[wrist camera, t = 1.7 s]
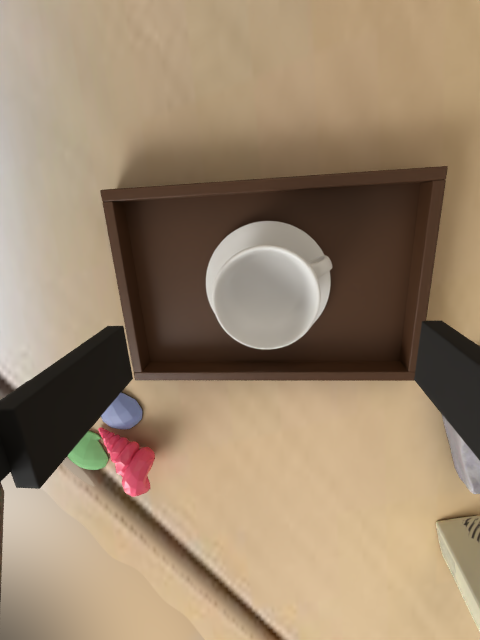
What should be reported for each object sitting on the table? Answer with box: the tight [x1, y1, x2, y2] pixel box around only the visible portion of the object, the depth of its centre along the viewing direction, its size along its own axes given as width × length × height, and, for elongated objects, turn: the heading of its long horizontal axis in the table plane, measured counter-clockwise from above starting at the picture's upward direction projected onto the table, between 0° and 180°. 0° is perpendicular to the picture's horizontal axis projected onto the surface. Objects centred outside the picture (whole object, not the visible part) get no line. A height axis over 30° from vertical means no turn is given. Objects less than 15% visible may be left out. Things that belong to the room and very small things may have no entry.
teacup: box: [206, 221, 332, 349], centre depth 24 cm, size 10×10×5 cm
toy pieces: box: [68, 393, 155, 497], centre depth 31 cm, size 12×11×4 cm
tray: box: [101, 166, 447, 380], centre depth 26 cm, size 16×24×2 cm, turn 93°
